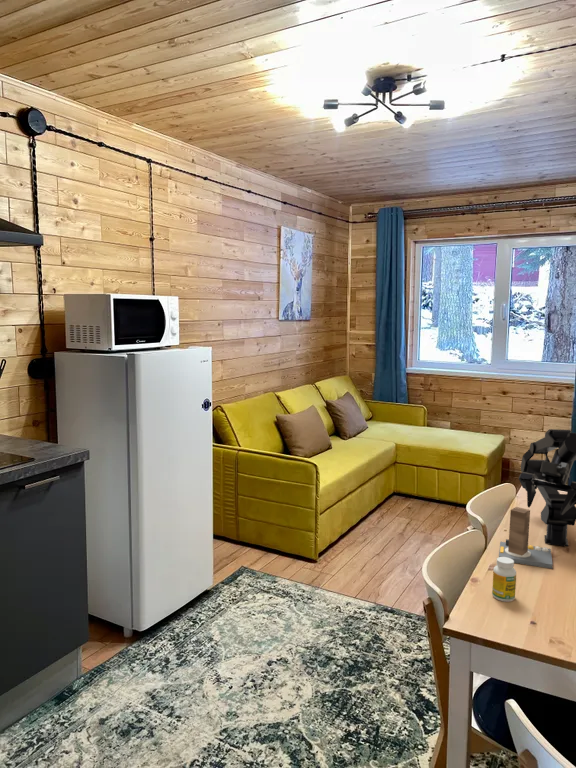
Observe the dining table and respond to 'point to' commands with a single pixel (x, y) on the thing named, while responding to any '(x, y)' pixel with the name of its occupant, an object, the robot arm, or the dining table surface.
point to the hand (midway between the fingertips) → (544, 510)
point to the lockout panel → (528, 555)
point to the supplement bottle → (504, 580)
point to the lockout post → (519, 530)
